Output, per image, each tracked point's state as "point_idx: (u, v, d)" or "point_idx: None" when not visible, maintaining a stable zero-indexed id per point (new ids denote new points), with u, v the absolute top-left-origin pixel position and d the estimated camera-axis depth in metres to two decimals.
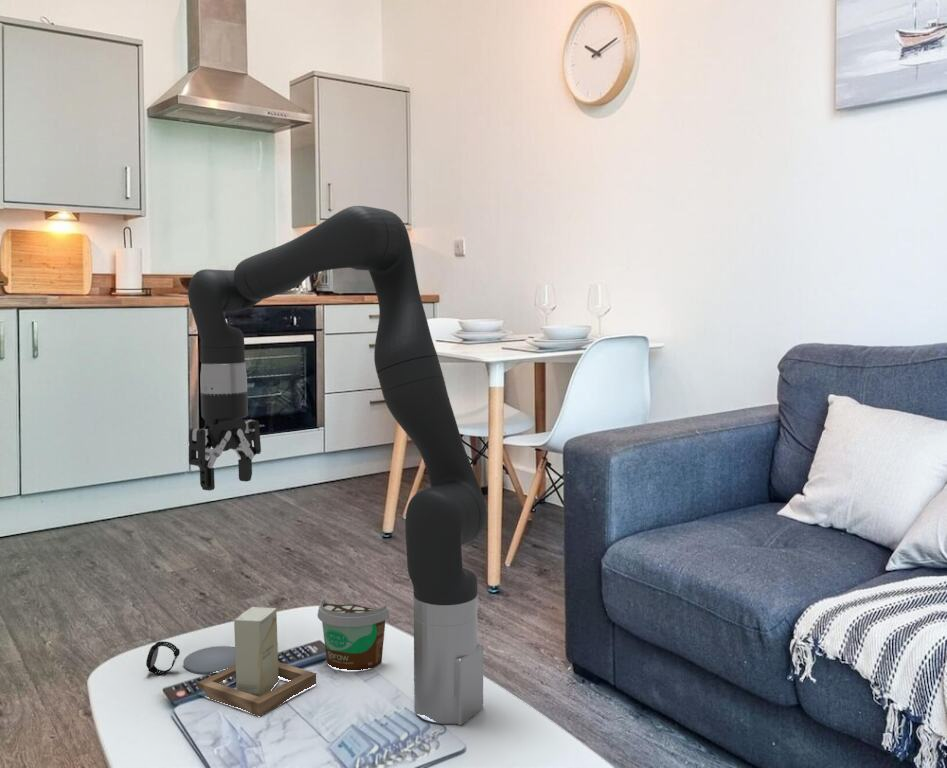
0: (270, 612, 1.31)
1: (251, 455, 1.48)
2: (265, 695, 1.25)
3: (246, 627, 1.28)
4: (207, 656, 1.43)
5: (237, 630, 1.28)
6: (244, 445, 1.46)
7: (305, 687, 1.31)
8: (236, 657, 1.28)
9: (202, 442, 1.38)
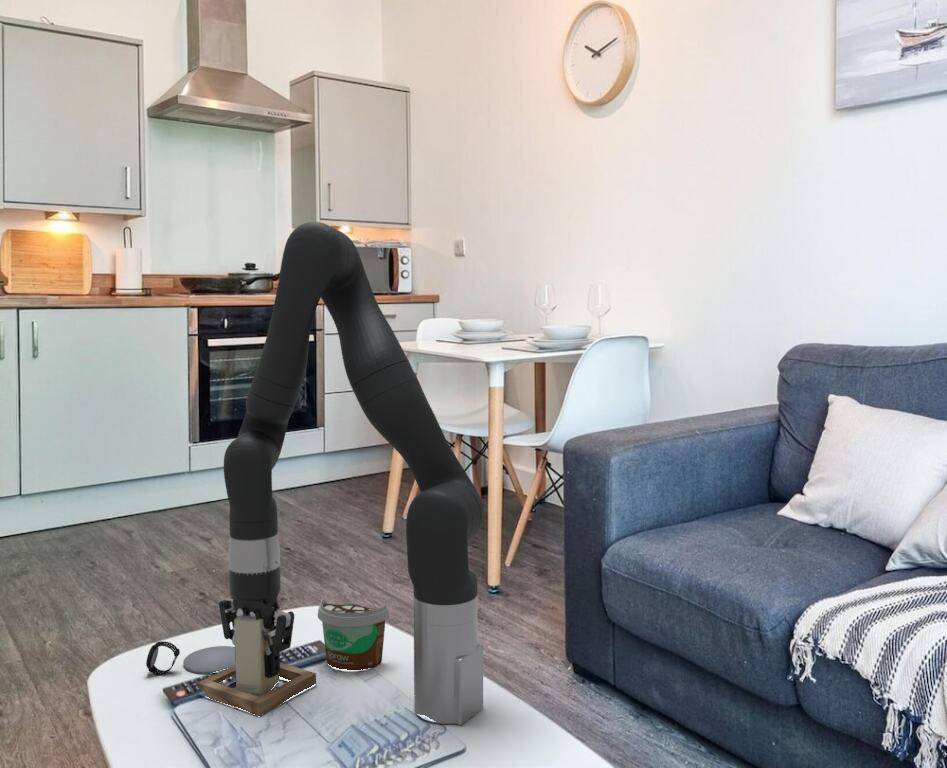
0: None
1: None
2: (265, 695, 1.25)
3: (246, 627, 1.28)
4: (207, 656, 1.43)
5: (237, 630, 1.28)
6: None
7: (305, 687, 1.31)
8: (236, 657, 1.28)
9: None
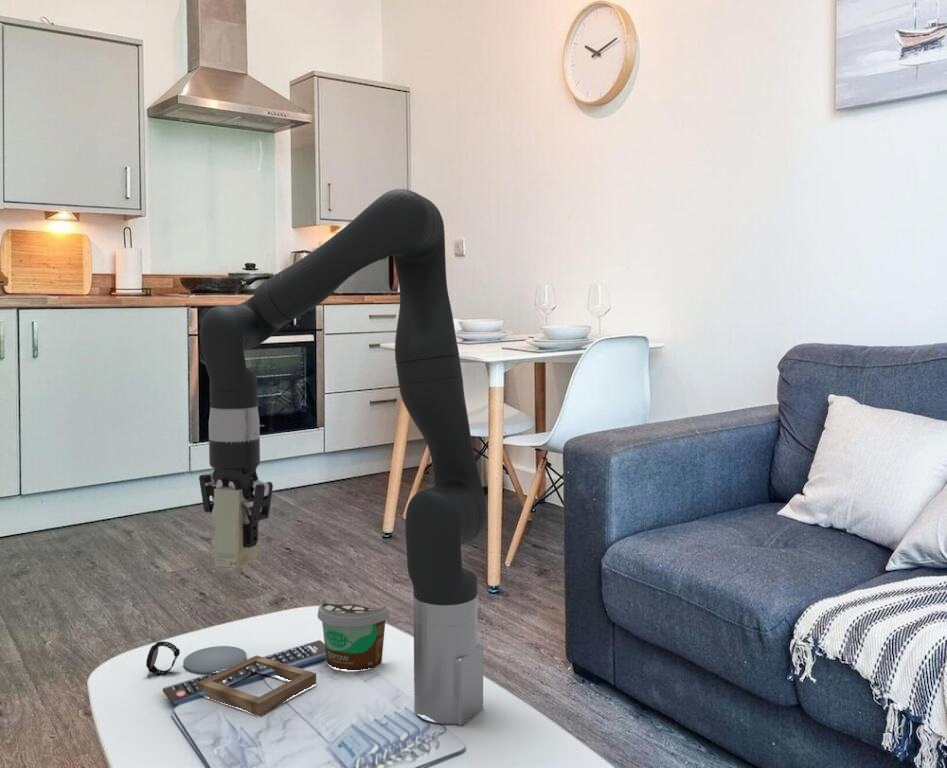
0: None
1: None
2: (265, 695, 1.25)
3: (225, 496, 1.30)
4: (207, 656, 1.43)
5: (217, 499, 1.30)
6: None
7: (305, 687, 1.31)
8: (215, 526, 1.31)
9: None
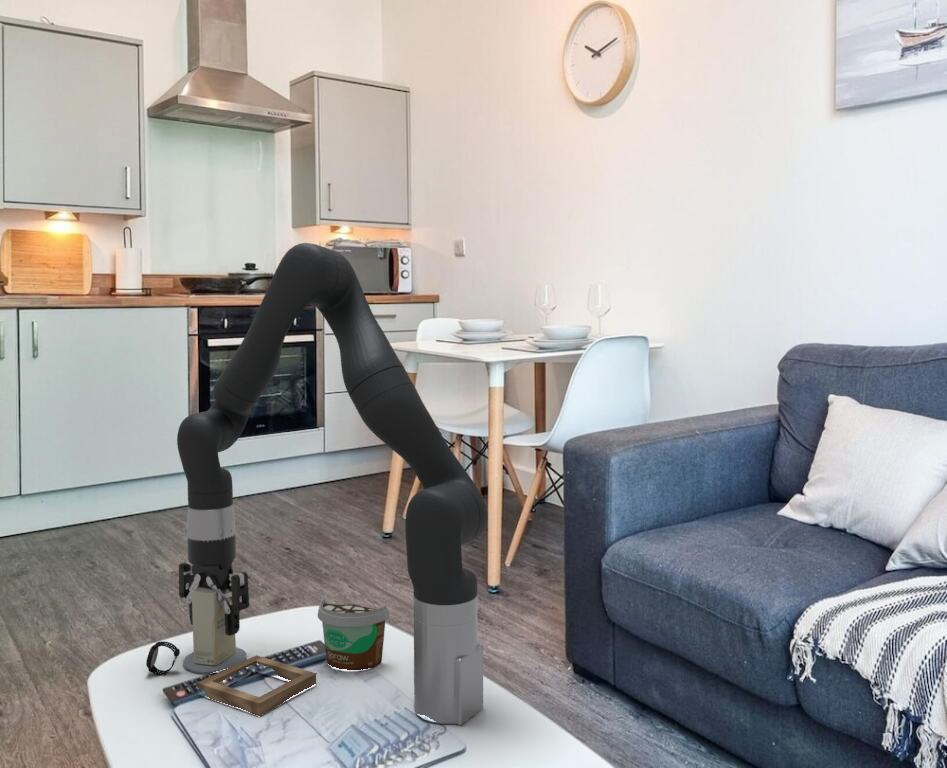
0: None
1: None
2: (265, 695, 1.25)
3: (202, 598, 1.38)
4: None
5: (194, 601, 1.39)
6: None
7: (305, 687, 1.31)
8: (193, 626, 1.39)
9: None
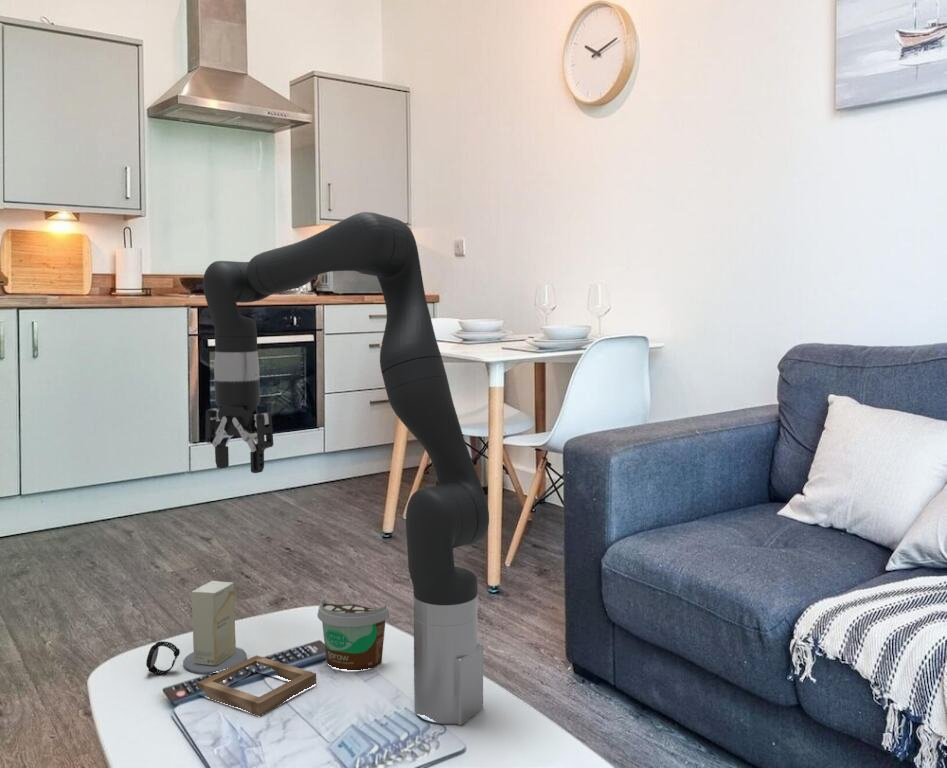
0: (226, 586, 1.42)
1: None
2: (265, 695, 1.25)
3: (202, 598, 1.38)
4: None
5: (194, 601, 1.39)
6: None
7: (305, 687, 1.31)
8: (193, 626, 1.39)
9: None
